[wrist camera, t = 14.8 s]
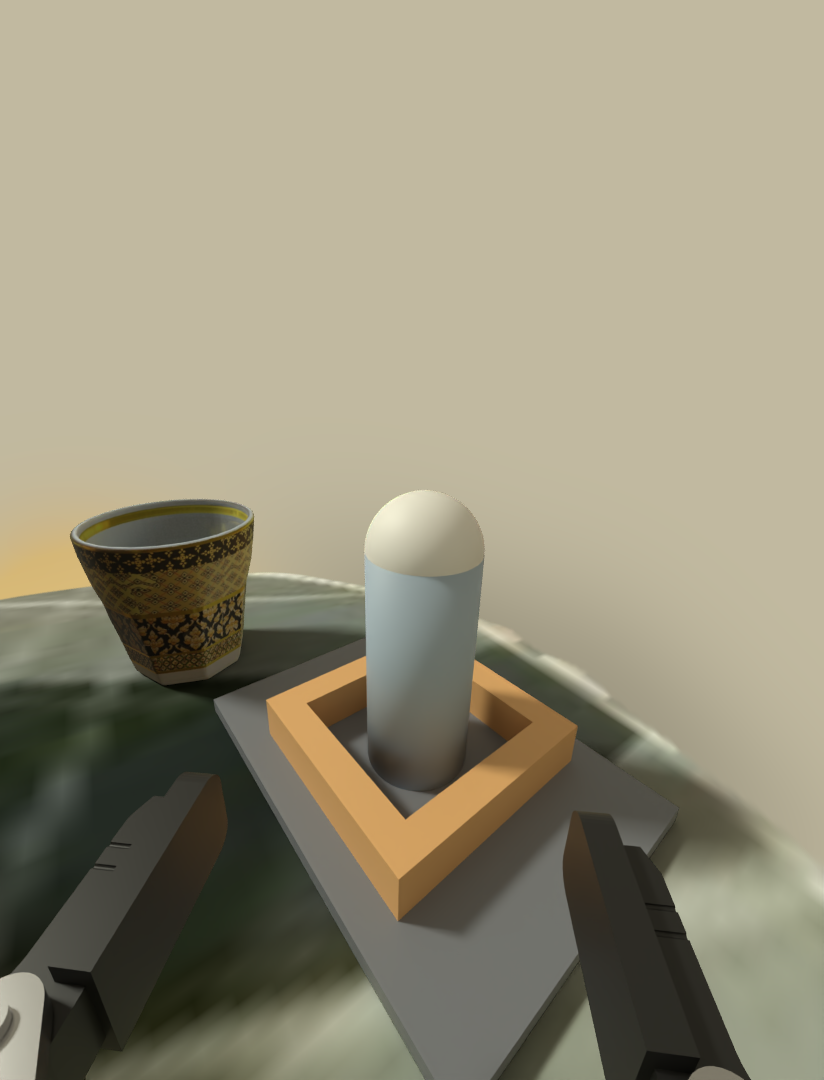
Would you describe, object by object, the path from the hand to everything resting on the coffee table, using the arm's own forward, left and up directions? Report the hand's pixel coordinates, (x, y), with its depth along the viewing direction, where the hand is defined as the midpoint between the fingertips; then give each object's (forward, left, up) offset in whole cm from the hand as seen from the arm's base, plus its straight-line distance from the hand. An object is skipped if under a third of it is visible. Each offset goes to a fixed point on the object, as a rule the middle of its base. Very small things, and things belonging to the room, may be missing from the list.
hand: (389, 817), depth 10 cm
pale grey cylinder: (-7, +7, -8) cm, 13 cm away
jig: (-7, +7, -9) cm, 14 cm away
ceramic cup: (-25, 0, -9) cm, 27 cm away
